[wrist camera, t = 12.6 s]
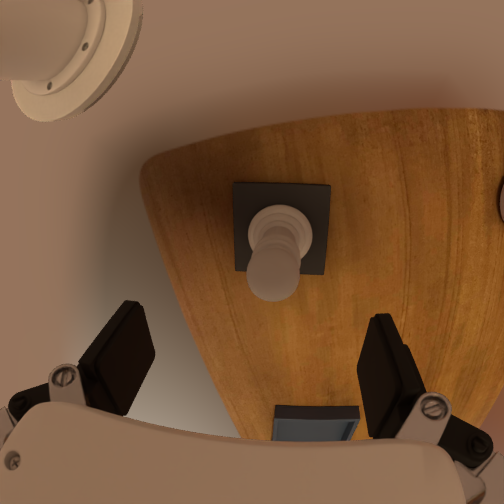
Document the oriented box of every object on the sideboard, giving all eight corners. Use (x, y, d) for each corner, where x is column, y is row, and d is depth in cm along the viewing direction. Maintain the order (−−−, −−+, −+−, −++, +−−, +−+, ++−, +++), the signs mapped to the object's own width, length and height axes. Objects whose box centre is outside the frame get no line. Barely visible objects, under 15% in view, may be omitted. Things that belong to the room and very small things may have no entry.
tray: (275, 404, 34) (274, 418, 32) (358, 405, 33) (360, 418, 31) (271, 451, 40) (270, 462, 38) (337, 452, 39) (338, 463, 37)
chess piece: (253, 264, 26) (235, 326, 18) (244, 206, 24) (219, 247, 16) (313, 260, 25) (321, 322, 17) (309, 200, 23) (318, 239, 15)
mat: (233, 182, 24) (232, 183, 24) (330, 184, 23) (331, 186, 23) (236, 268, 27) (235, 271, 27) (323, 272, 26) (323, 275, 26)
